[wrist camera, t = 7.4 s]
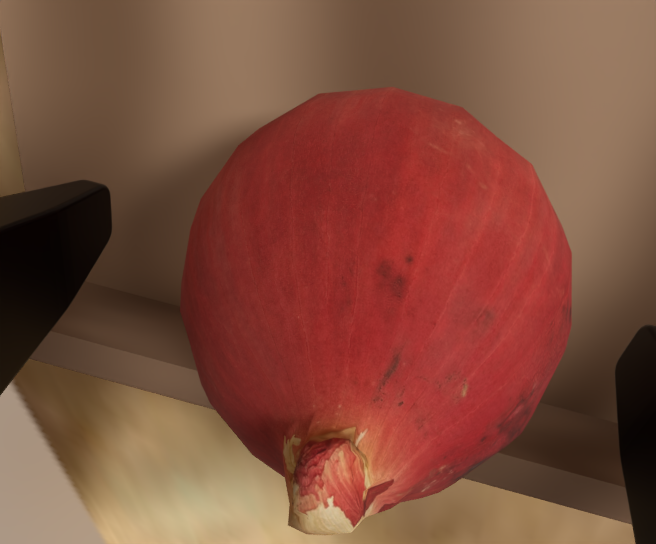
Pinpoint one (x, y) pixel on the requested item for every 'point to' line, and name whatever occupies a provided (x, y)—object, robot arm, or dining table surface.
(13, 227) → the robot arm
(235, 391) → the onion
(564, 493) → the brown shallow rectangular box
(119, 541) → the dining table surface
